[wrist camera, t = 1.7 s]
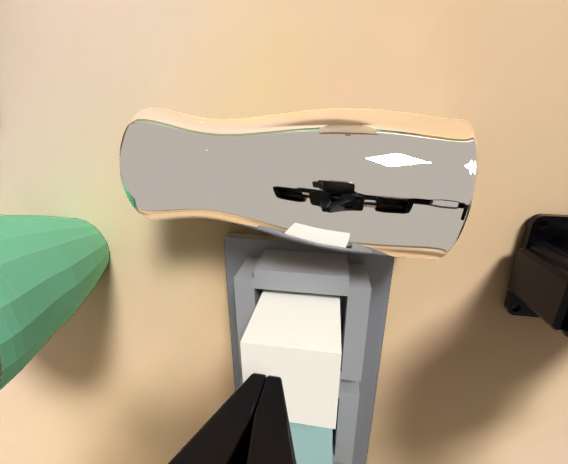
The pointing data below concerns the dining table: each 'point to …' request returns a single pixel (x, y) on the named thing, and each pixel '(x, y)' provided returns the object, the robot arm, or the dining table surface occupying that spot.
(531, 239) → the robot arm
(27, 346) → the mug
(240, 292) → the keypad base
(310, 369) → the key ivory
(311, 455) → the key teal
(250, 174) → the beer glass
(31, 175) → the dining table surface
